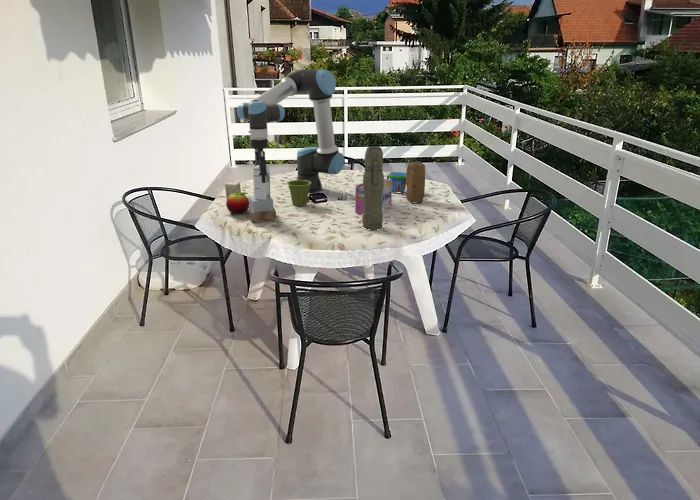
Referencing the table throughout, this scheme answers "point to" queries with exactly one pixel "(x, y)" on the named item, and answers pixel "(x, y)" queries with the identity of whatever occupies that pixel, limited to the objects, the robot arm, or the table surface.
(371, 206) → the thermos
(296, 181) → the plant pot
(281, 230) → the table surface
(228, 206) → the fruit
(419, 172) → the block
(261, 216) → the base block
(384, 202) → the gum box
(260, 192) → the syrup box
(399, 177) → the snack cup
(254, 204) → the top block
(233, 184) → the skincare box
